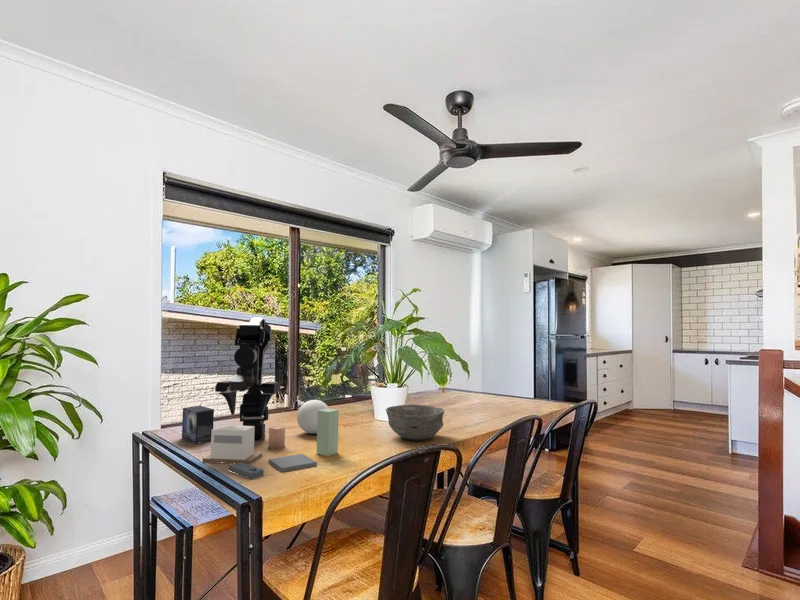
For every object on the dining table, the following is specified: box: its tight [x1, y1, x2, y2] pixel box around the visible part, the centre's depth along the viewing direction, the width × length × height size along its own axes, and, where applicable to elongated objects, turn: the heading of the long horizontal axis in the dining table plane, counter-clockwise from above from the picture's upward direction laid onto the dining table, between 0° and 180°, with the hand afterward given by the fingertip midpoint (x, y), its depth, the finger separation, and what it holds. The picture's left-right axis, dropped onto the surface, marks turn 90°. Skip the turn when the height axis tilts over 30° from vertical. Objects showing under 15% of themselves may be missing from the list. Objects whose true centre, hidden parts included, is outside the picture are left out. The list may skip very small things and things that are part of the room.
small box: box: [181, 405, 215, 444], centre depth 150 cm, size 11×6×10 cm, turn 50°
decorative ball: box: [296, 399, 330, 435], centre depth 161 cm, size 12×12×12 cm
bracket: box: [227, 462, 265, 480], centre depth 115 cm, size 4×10×2 cm, turn 52°
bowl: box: [385, 404, 445, 442], centre depth 156 cm, size 21×21×10 cm
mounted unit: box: [202, 424, 263, 465], centre depth 127 cm, size 14×8×9 cm, turn 84°
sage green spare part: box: [316, 408, 340, 457], centre depth 135 cm, size 4×4×13 cm
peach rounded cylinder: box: [268, 425, 286, 450], centre depth 141 cm, size 5×5×6 cm
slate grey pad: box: [268, 453, 318, 473], centre depth 123 cm, size 10×10×1 cm
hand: (247, 415), depth 136 cm, fingers open, 9 cm apart
